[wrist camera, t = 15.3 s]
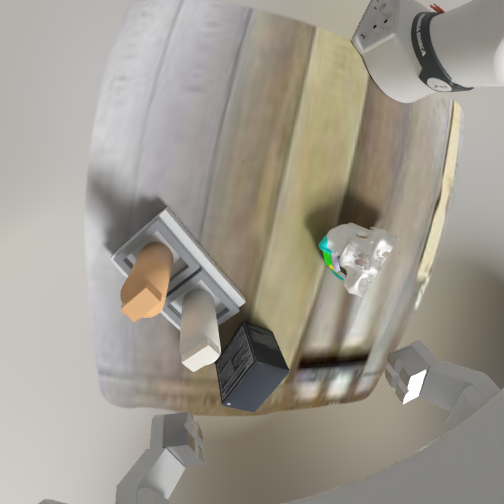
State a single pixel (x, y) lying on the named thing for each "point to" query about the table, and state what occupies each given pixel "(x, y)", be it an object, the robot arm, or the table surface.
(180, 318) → the grey base with column
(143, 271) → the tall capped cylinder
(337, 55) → the table surface
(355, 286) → the partial skull model
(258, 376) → the small box
